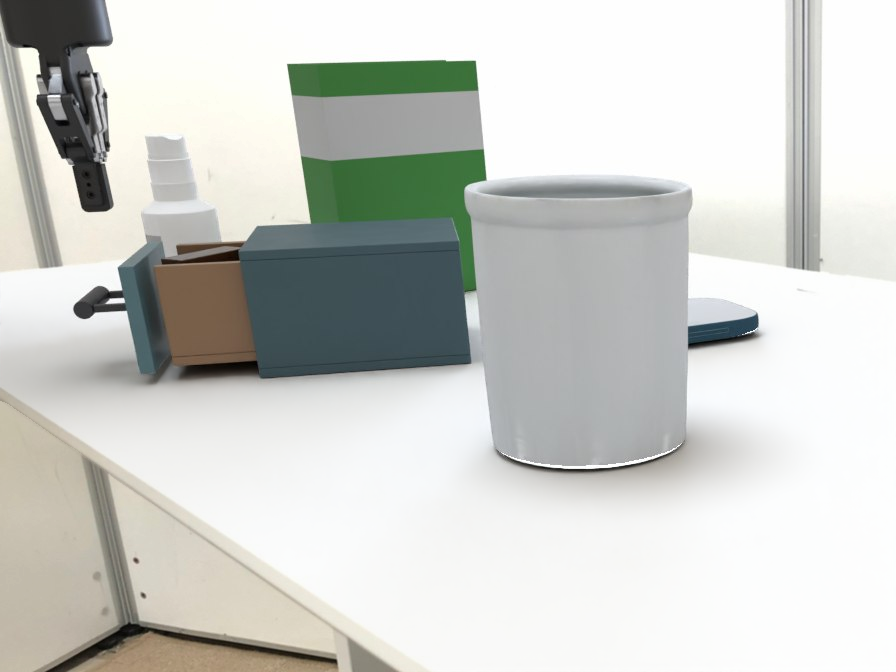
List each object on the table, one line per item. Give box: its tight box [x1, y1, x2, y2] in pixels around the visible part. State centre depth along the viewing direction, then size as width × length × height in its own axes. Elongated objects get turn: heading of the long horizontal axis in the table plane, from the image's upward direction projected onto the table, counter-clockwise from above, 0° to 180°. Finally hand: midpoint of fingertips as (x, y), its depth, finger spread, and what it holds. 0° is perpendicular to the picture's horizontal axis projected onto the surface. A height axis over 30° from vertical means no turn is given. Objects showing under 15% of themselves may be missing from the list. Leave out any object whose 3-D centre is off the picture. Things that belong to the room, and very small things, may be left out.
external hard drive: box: [688, 297, 760, 345], centre depth 112 cm, size 24×12×2 cm, turn 120°
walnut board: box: [161, 246, 241, 265], centre depth 104 cm, size 2×7×8 cm, turn 155°
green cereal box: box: [286, 59, 488, 292], centre depth 130 cm, size 18×7×24 cm, turn 131°
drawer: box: [72, 240, 257, 375], centre depth 105 cm, size 21×13×9 cm, turn 105°
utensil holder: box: [464, 174, 694, 466], centre depth 82 cm, size 15×15×18 cm
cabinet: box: [238, 217, 472, 379], centre depth 108 cm, size 18×15×11 cm
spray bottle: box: [140, 133, 223, 258], centre depth 118 cm, size 7×7×18 cm
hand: (98, 210), depth 100 cm, fingers closed
